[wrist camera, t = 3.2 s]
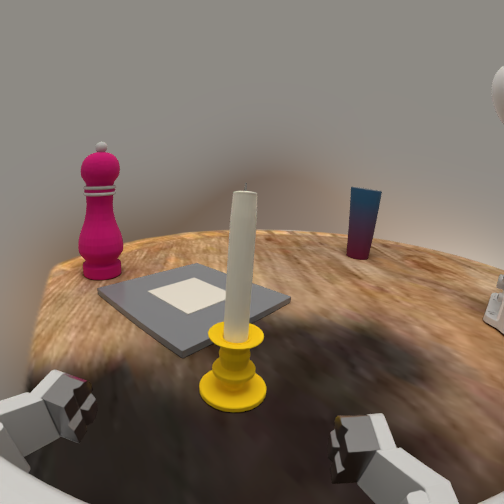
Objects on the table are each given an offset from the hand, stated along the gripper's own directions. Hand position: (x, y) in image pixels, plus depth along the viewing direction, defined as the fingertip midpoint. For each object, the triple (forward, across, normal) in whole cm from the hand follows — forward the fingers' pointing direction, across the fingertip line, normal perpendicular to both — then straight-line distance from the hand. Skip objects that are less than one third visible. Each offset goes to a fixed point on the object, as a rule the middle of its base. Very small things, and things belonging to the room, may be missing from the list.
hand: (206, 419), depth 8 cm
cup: (+57, -22, +9) cm, 62 cm away
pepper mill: (+33, +23, +9) cm, 41 cm away
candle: (+12, 0, +9) cm, 15 cm away
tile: (+28, +7, +9) cm, 30 cm away
